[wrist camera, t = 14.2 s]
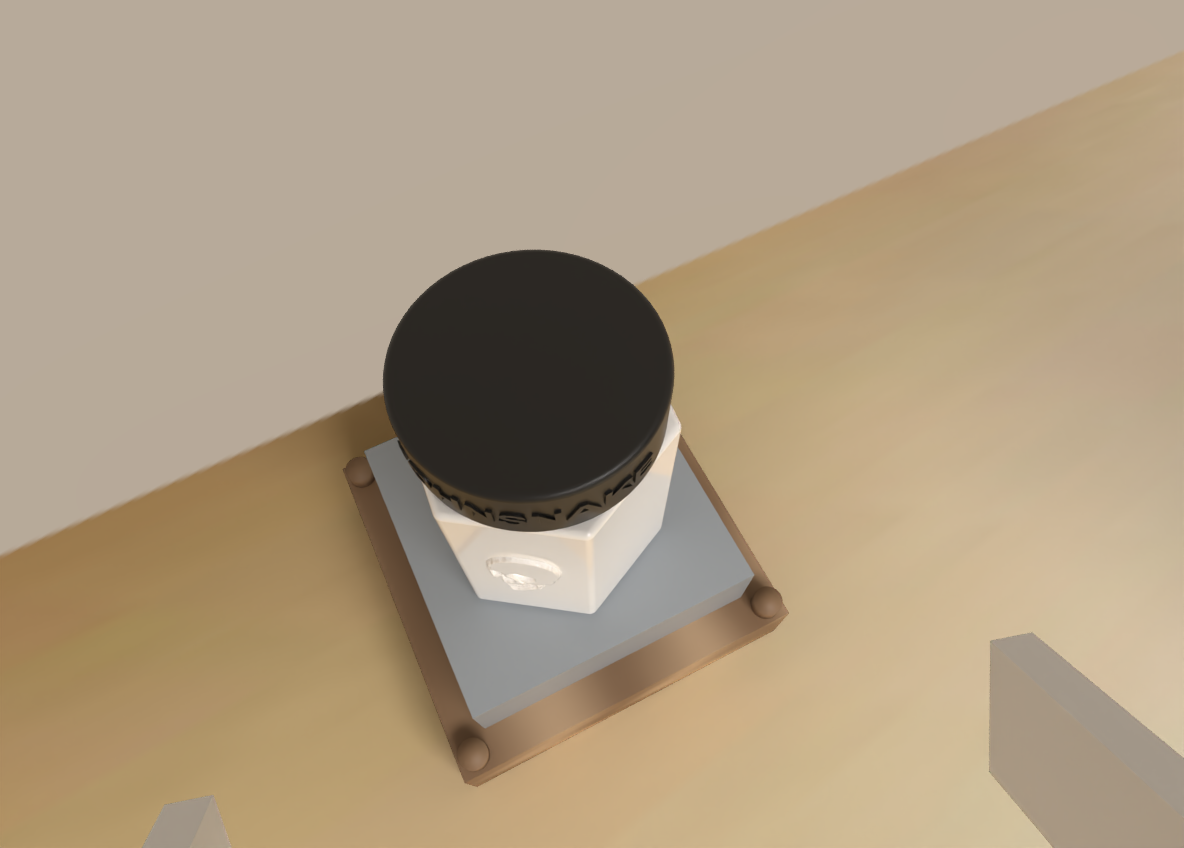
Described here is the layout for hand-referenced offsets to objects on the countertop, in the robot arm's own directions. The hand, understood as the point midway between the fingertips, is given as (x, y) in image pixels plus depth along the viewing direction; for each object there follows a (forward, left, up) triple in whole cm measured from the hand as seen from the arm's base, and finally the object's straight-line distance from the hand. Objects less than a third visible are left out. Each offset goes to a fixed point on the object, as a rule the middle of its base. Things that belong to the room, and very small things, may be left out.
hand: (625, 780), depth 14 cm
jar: (+6, -9, -17) cm, 20 cm away
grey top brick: (+6, -10, -20) cm, 23 cm away
